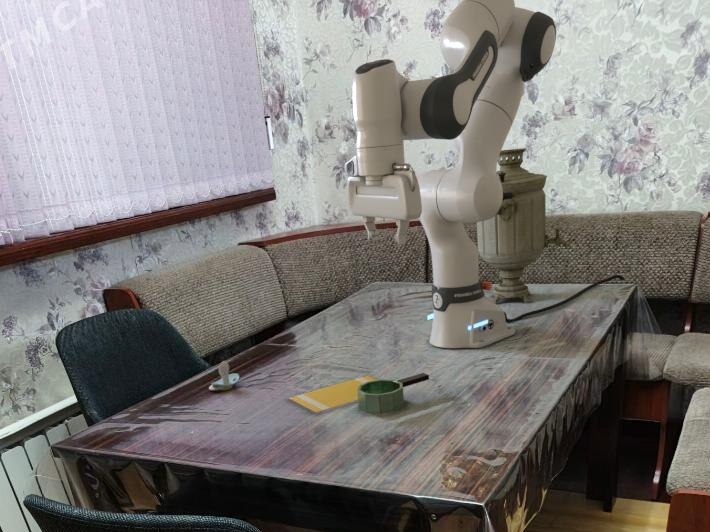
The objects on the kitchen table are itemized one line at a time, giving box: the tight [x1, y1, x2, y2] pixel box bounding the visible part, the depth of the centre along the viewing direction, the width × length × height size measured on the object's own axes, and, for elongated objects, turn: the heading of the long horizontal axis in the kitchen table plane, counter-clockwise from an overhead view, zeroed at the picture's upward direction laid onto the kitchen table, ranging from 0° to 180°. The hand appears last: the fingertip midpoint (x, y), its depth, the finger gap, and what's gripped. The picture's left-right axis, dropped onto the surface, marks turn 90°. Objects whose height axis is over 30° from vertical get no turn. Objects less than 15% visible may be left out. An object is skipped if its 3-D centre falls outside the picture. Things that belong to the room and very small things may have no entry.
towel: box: [288, 375, 378, 413], centre depth 151 cm, size 20×12×1 cm, turn 124°
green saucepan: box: [357, 372, 430, 415], centre depth 143 cm, size 16×9×4 cm, turn 124°
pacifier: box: [208, 360, 240, 392], centre depth 160 cm, size 7×6×6 cm
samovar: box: [476, 147, 569, 305], centre depth 202 cm, size 30×26×40 cm
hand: (386, 242), depth 140 cm, fingers open, 8 cm apart
